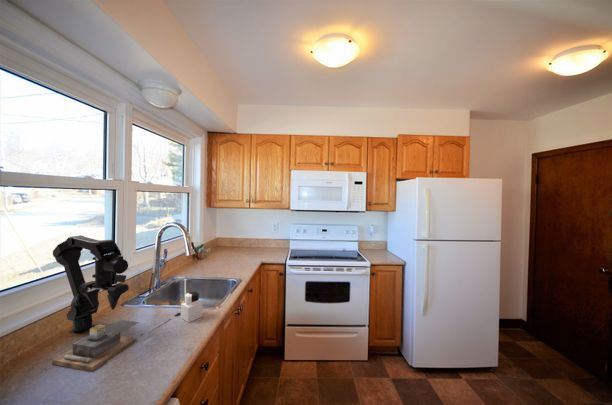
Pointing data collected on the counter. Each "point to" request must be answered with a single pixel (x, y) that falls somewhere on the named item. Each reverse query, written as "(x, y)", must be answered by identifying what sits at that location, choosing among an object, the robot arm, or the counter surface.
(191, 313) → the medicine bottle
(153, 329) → the tactical tomahawk
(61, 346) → the counter surface
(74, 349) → the stand
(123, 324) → the key mat
